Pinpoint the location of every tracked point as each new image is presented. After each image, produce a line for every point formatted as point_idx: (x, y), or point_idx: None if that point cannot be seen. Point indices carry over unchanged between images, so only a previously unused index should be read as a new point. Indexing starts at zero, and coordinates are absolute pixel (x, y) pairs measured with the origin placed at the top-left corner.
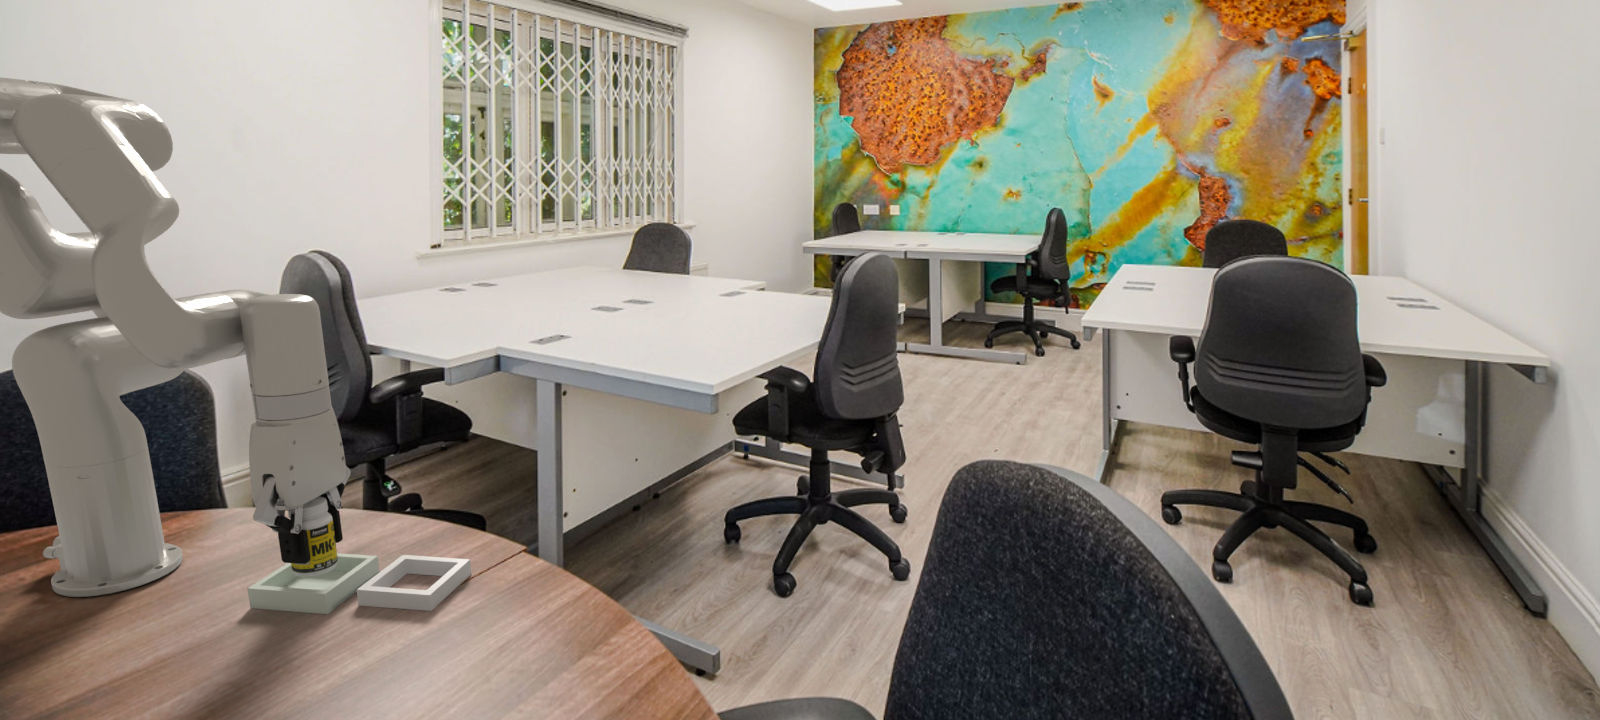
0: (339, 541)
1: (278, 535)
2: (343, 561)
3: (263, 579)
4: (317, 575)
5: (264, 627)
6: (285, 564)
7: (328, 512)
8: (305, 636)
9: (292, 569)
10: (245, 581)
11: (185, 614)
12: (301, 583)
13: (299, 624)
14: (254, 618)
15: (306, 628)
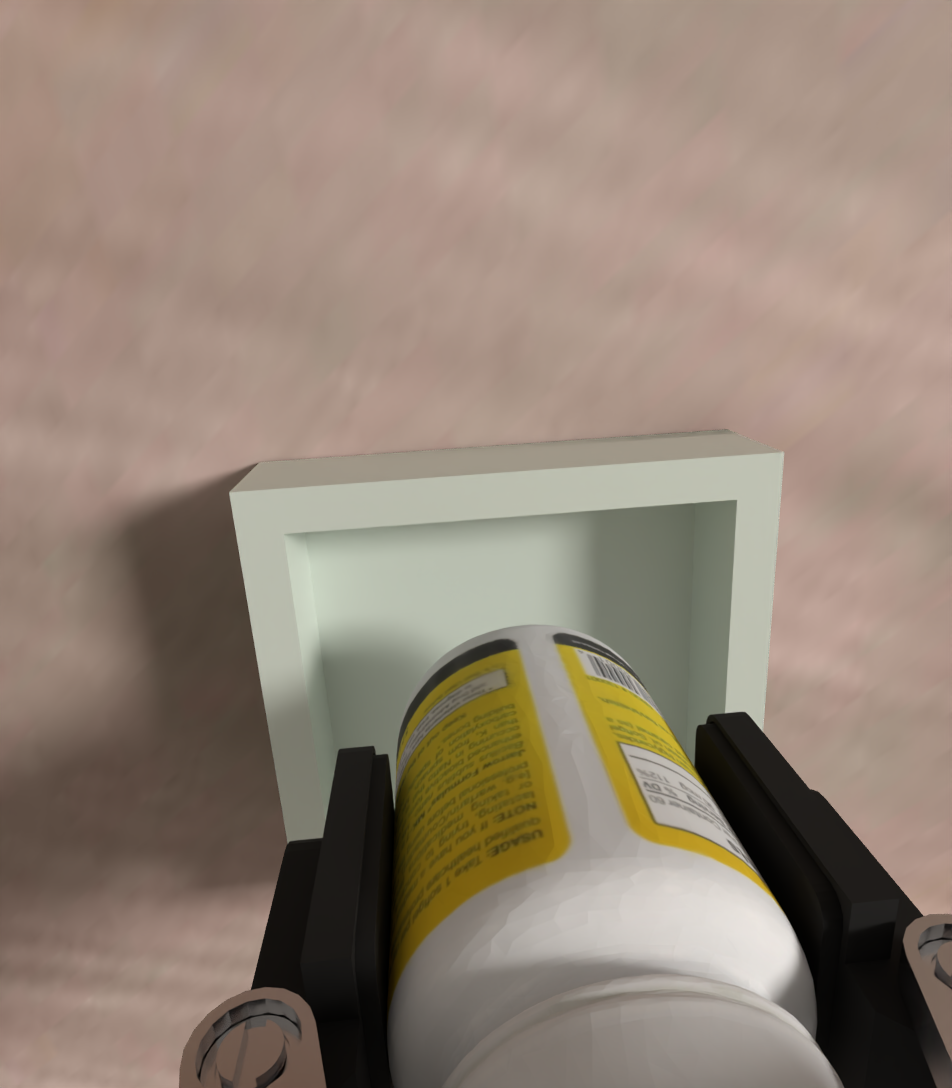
0: None
1: (313, 910)
2: (712, 710)
3: (358, 497)
4: (626, 576)
5: (131, 680)
6: (577, 468)
7: (827, 1052)
8: (136, 893)
9: (417, 694)
10: (531, 143)
11: (77, 118)
12: (526, 562)
13: (208, 803)
14: (182, 567)
15: (191, 853)
